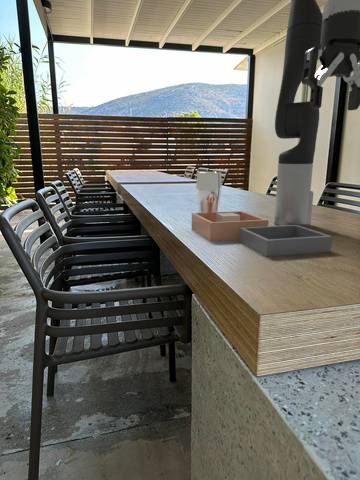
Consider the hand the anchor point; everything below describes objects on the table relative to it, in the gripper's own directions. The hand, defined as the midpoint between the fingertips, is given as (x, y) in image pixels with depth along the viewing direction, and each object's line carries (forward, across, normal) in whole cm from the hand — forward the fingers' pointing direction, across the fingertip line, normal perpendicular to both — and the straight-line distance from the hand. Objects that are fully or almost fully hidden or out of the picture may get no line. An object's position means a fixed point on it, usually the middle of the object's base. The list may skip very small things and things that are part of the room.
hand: (334, 109), depth 66 cm
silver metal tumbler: (+28, +16, -28) cm, 43 cm away
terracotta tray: (+28, +16, -14) cm, 35 cm away
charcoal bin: (+28, +10, +1) cm, 30 cm away
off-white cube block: (+27, +16, -14) cm, 34 cm away
